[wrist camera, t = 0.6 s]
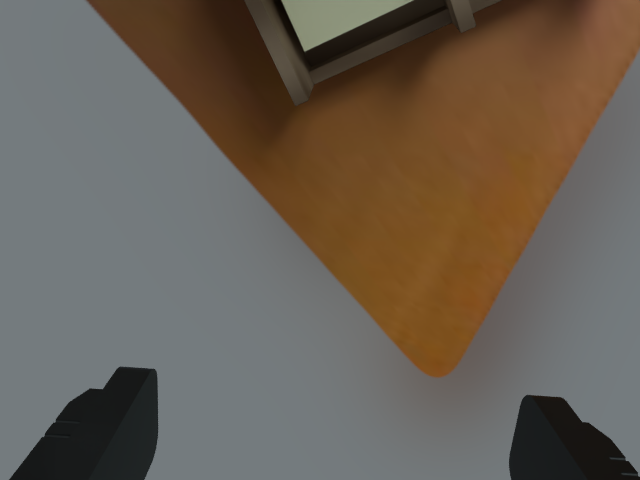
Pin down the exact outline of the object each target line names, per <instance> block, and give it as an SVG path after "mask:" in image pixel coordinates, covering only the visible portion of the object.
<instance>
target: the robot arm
mask: <svg viewBox="0 0 640 480" xmlns="http://www.w3.org/2000/svg"><path fill="white" fill-rule="evenodd" d="M157 438H158V390H157V372H156V370H155V369H147V368H133V367H119V368H118V369H117V370H116V371H115V373H114V374H113V375H112V377H111V378H110V380H109V381H108V383H107V384H106V385H105V387H104V388H103V389H89V390H87V391H86V392H84V393H83V394H81V395H80V396H78V397H77V398H75V399H73V400H72V401H70V402H69V403H68V404H67V406H66V407H65V408H64V410H63V411H62V412H61V413H60V415H59V416H58V417H57V419H56V422H55V423H53V424H52V425H51V426H50V428H49V429H48V430H47V431H46V433H45V436H44V437H42V438H41V439H40V441H39V442H38V443H37V445H36V446H35V447H34V448H33V450H32V451H31V452H30V454H29V455H28V456H27V458H26V459H25V460H24V461H23V463H22V464H21V465H20V466H19V468H18V469H17V470H16V472H15V473H14V474H13V476H12V477H11V478H10V479H9V480H144V479H145V477H146V474H147V472H148V470H149V467H150V465H151V463H152V461H153V457H154V454H155V450H156V445H157ZM509 468H510V476H511V480H640V477H638V472H637V471H636V470H635V469H634V467H633V466H632V465H631V464H630V462H629V461H626V460H625V456H624V455H623V454H622V453H621V451H620V450H619V449H618V448H617V446H616V445H615V444H614V443H613V441H612V440H611V439H610V438H608V437H607V436H606V435H604V434H603V433H602V432H600V431H599V430H598V429H596V428H595V427H594V426H592V425H591V424H589V423H586V422H582V421H581V420H580V419H579V418H578V416H577V415H576V413H575V412H574V411H573V410H572V408H571V407H570V406H569V404H568V403H567V402H566V401H565V400H564V399H563V398H561V397H548V396H534V395H526V396H525V397H524V398H523V399H522V402H521V405H520V409H519V414H518V419H517V423H516V428H515V433H514V437H513V442H512V447H511V451H510V458H509Z"/></svg>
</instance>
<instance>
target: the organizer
mask: <svg viewBox="0 0 640 480" xmlns="http://www.w3.org/2000/svg"><path fill="white" fill-rule="evenodd" d="M244 1H245V3H246V5H247V7H248V9H249V11H250V13H251V15H252V18H253V20H254V22H255V24H256V26H257V28H258V30H259V32H260V34H261V36H262V38H263V40H264V42H265V44H266V46H267V49H268V51H269V53H270V55H271V57H272V59H273V61H274V63H275V65H276V67H277V69H278V71H279V73H280V75H281V77H282V80H283V82H284V84H285V86H286V88H287V90H288V92H289V94H290V96H291V98H292V100H293V102H294V104H295V106H297V105H299V104H301V103H304V102H306V101H308V99H309V97H310V94H311V91H312V89H313V86H314V84H316V83H319V82H321V81H323V80H325V79H328V78H330V77H332V76H334V75H337V74H339V73H341V72H343V71H345V70H348V69H350V68H352V67H354V66H357V65H359V64H361V63H363V62H365V61H368V60H370V59H372V58H374V57H377V56H379V55H381V54H383V53H386V52H388V51H390V50H392V49H394V48H397V47H399V46H401V45H403V44H406V43H408V42H410V41H412V40H414V39H417V38H419V37H421V36H423V35H426V34H428V33H430V32H432V31H435V30H437V29H439V28H441V27H443V26H446V25H448V24H450V23H453V24H454V25H455V26H456V27H457V29H458V30H459V31H460V32H461V33H462V32H465V31H467V30H469V29H471V28H474V27H476V23H475V20H474V17H473V13H475V12H477V11H479V10H481V9H483V8H486V7H488V6H490V5H492V4H495V3H497V2H499V1H501V0H413V1H411V2H409V3H407V4H405V5H403V6H400V7H398V8H396V9H394V10H392V11H390V12H388V13H386V14H383V15H381V16H379V17H377V18H375V19H373V20H371V21H369V22H367V23H364V24H362V25H360V26H358V27H356V28H354V29H352V30H350V31H347V32H345V33H343V34H341V35H339V36H337V37H335V38H333V39H330V40H328V41H326V42H324V43H322V44H320V45H318V46H316V47H313V48H311V49H309V50H307V51H304V49H303V47H302V45H301V42H300V40H299V38H298V36H297V34H296V31H295V29H294V27H293V25H292V23H291V20H290V18H289V16H288V14H287V12H286V9H285V7H284V5H283V3H282V1H281V0H244Z"/></svg>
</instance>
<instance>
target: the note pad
mask: <svg viewBox="0 0 640 480" xmlns="http://www.w3.org/2000/svg"><path fill="white" fill-rule="evenodd" d="M281 1H282V3H283V5H284V7H285V9H286V12H287V14H288V16H289V18H290V20H291V23H292V25H293V27H294V29H295V31H296V34H297V36H298V38H299V40H300V42H301V45H302V47H303V49H304V51H307V50H309V49H311V48H313V47H316V46H318V45H320V44H322V43H324V42H326V41H328V40H330V39H333V38H335V37H337V36H339V35H341V34H343V33H345V32H347V31H350V30H352V29H354V28H356V27H358V26H360V25H362V24H364V23H367V22H369V21H371V20H373V19H375V18H377V17H379V16H381V15H383V14H386V13H388V12H390V11H392V10H394V9H396V8H398V7H400V6H403V5H405V4H407V3H409V2H411V1H413V0H281Z"/></svg>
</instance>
